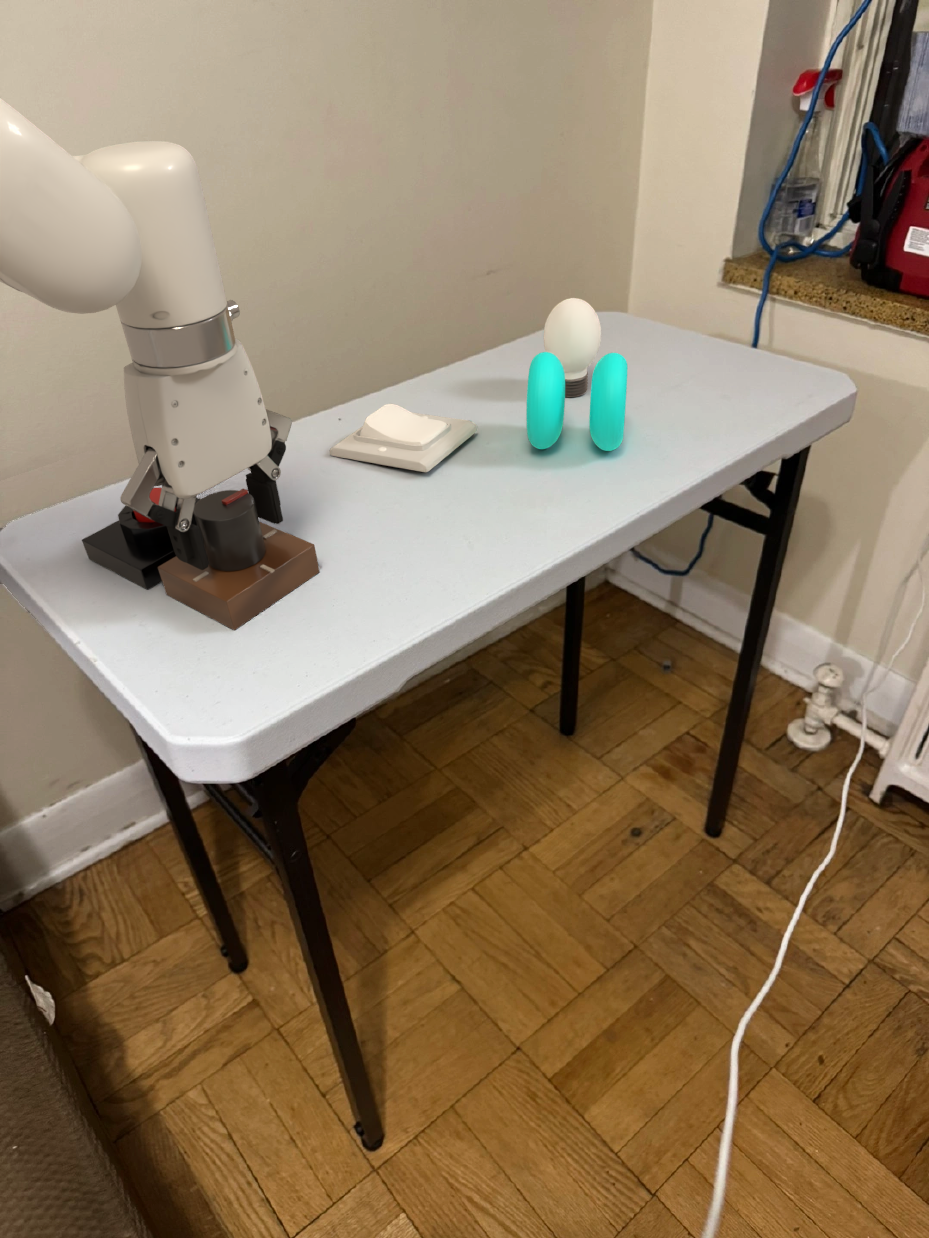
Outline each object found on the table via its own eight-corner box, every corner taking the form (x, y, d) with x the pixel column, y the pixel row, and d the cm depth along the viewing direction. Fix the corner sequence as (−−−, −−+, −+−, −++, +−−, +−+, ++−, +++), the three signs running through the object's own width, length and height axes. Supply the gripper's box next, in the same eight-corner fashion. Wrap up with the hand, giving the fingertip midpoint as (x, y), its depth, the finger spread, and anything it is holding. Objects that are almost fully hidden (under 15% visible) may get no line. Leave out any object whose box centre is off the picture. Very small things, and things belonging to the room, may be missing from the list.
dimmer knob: (233, 578, 72) (219, 523, 69) (195, 559, 74) (179, 506, 71) (277, 550, 75) (266, 496, 72) (239, 533, 77) (226, 481, 74)
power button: (152, 528, 78) (146, 511, 77) (128, 516, 80) (122, 500, 79) (184, 510, 80) (179, 494, 79) (160, 500, 82) (154, 483, 81)
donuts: (534, 423, 99) (534, 337, 93) (622, 425, 97) (628, 338, 91) (525, 465, 91) (524, 374, 85) (621, 468, 90) (628, 376, 83)
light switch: (380, 388, 100) (475, 400, 94) (385, 421, 103) (479, 435, 97) (323, 426, 93) (422, 442, 87) (330, 461, 96) (427, 478, 90)
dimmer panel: (235, 631, 71) (226, 600, 69) (165, 594, 76) (155, 565, 74) (320, 572, 77) (315, 543, 75) (251, 542, 82) (244, 513, 80)
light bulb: (597, 402, 102) (602, 309, 96) (540, 401, 103) (541, 309, 97) (599, 380, 108) (603, 289, 101) (545, 379, 109) (546, 289, 102)
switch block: (147, 590, 76) (134, 552, 74) (88, 559, 81) (74, 522, 78) (242, 534, 83) (233, 497, 81) (182, 508, 88) (172, 472, 85)
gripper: (237, 294, 70) (277, 486, 81) (45, 367, 59) (120, 576, 70) (302, 309, 66) (335, 508, 77) (109, 389, 56) (178, 607, 67)
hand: (232, 539), depth 74 cm, fingers open, 7 cm apart
